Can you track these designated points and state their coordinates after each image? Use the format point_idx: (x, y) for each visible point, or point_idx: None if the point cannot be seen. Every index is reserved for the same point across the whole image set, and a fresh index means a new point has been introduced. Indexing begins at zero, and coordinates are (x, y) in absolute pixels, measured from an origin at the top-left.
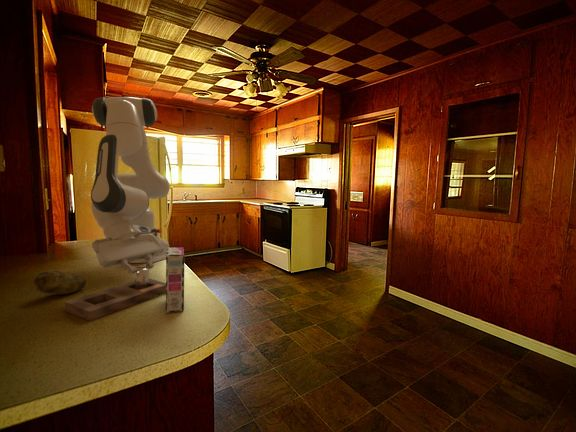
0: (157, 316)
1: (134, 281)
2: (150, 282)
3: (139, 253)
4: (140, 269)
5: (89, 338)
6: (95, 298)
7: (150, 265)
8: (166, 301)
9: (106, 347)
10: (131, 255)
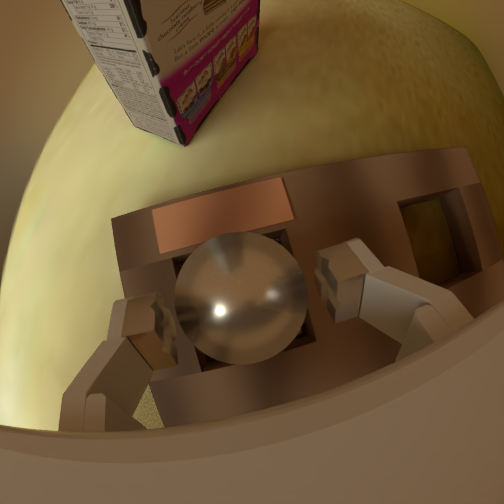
0: (286, 53)
1: (246, 409)
2: (177, 327)
3: (233, 436)
4: (265, 275)
5: (437, 81)
6: (447, 286)
7: (147, 296)
8: (258, 22)
9: (406, 37)
10: (400, 374)
